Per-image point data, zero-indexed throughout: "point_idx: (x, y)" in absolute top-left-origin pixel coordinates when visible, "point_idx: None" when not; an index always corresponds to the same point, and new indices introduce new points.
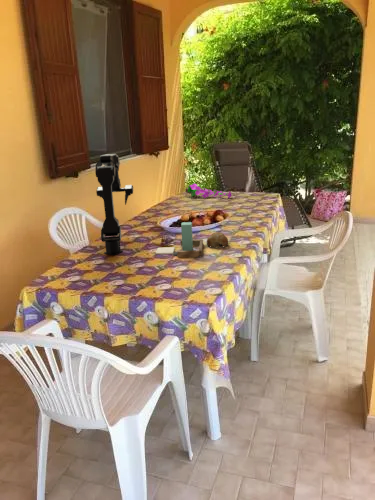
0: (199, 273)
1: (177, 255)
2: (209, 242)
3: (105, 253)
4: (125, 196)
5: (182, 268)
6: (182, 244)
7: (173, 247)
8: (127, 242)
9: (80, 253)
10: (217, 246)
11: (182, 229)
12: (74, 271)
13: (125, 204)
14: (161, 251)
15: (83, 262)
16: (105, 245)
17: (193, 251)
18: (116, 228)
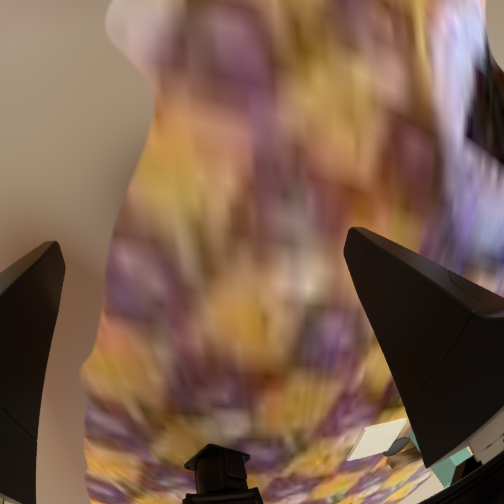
0: (386, 494)
1: (390, 455)
2: None
3: (191, 469)
4: (421, 435)
5: (371, 491)
6: (419, 450)
7: (403, 422)
8: (260, 375)
9: (96, 450)
10: None
11: (440, 478)
12: None
13: (348, 260)
14: (365, 450)
15: (145, 495)
16: (197, 492)
17: (420, 458)
18: None
